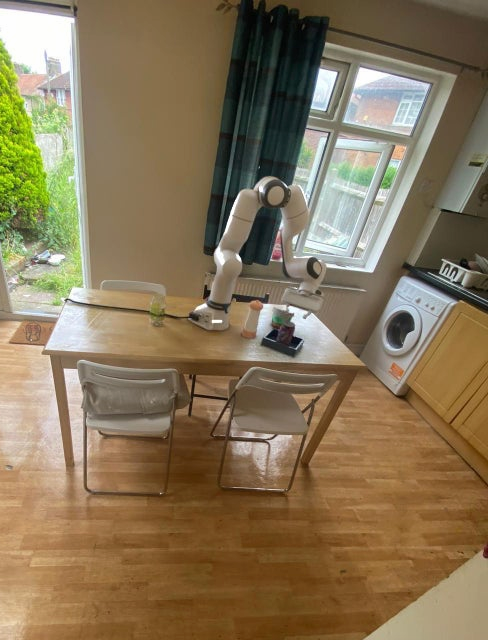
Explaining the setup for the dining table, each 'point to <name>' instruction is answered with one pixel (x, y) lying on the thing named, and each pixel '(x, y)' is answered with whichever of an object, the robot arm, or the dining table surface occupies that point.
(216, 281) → the robot arm
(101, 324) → the dining table surface
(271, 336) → the tray
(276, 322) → the food container
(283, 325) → the beverage can
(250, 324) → the pepper shaker
